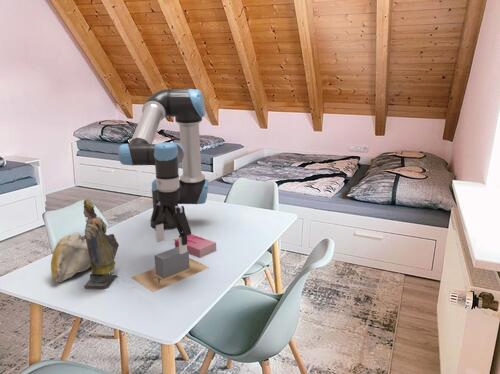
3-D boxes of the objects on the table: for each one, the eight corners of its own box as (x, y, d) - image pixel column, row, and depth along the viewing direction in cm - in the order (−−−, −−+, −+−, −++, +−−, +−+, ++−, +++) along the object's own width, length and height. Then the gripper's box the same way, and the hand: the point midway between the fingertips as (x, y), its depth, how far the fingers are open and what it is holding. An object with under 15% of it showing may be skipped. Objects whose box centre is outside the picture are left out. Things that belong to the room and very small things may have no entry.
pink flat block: (183, 230, 171) (216, 242, 159) (183, 241, 172) (216, 253, 160) (166, 237, 164) (199, 249, 152) (167, 247, 166) (200, 261, 153)
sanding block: (181, 266, 146) (180, 246, 144) (189, 270, 143) (188, 249, 141) (155, 276, 138) (154, 255, 136) (163, 280, 135) (162, 259, 133)
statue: (95, 269, 146) (86, 191, 138) (123, 269, 145) (116, 191, 138) (76, 290, 131) (65, 204, 123) (108, 290, 131) (99, 204, 123)
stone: (122, 258, 153) (70, 273, 130) (98, 273, 158) (44, 290, 134) (106, 224, 155) (53, 233, 132) (83, 240, 160) (28, 251, 137)
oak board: (186, 258, 154) (186, 256, 154) (209, 270, 145) (209, 267, 145) (131, 280, 138) (130, 277, 137) (153, 294, 128) (153, 291, 128)
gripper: (138, 184, 138) (143, 239, 144) (181, 199, 121) (184, 261, 127) (156, 180, 143) (160, 234, 149) (200, 194, 127) (202, 254, 133)
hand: (171, 246), depth 138 cm, fingers open, 13 cm apart
